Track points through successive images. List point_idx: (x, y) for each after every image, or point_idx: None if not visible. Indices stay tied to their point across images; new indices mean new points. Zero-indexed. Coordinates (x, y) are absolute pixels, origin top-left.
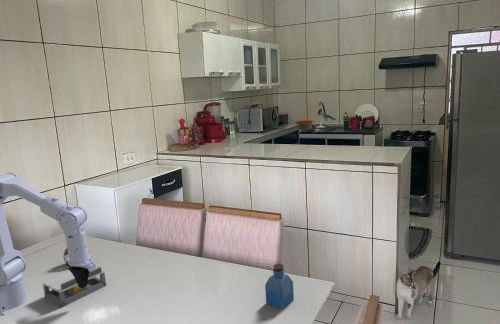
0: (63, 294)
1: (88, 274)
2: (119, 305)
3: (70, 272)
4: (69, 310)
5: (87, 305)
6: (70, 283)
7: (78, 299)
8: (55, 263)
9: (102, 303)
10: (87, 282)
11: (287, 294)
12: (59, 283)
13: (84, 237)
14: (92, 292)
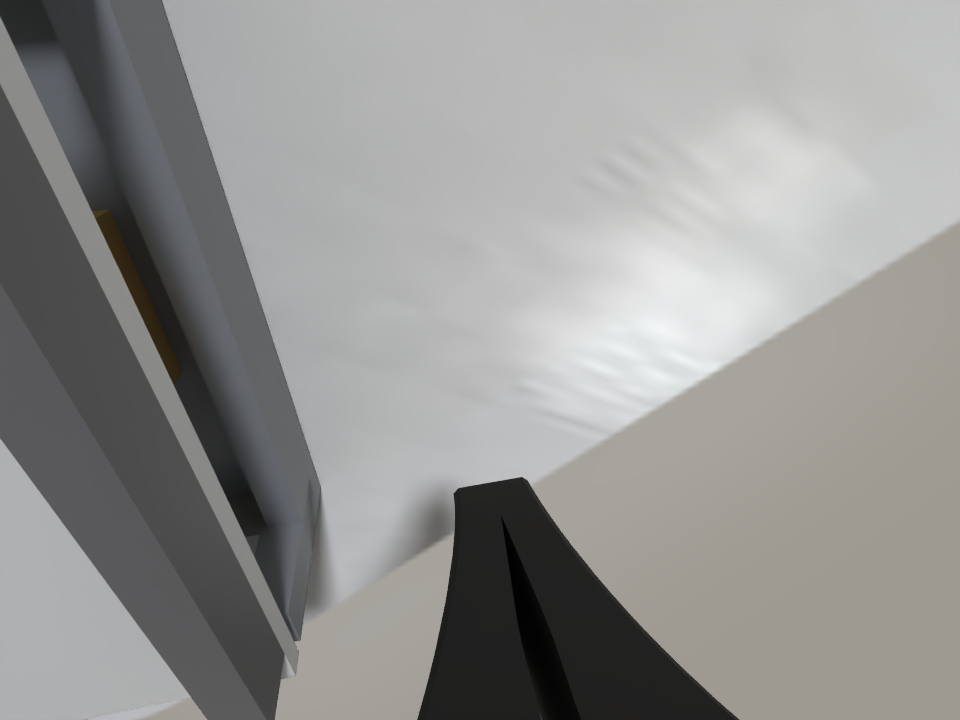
0: (293, 593)
1: (671, 665)
2: (765, 94)
3: None
4: (384, 456)
5: (438, 325)
6: (238, 626)
7: (272, 367)
8: None
9: (544, 202)
10: (546, 512)
11: None
12: (3, 662)
13: None
14: (207, 178)
